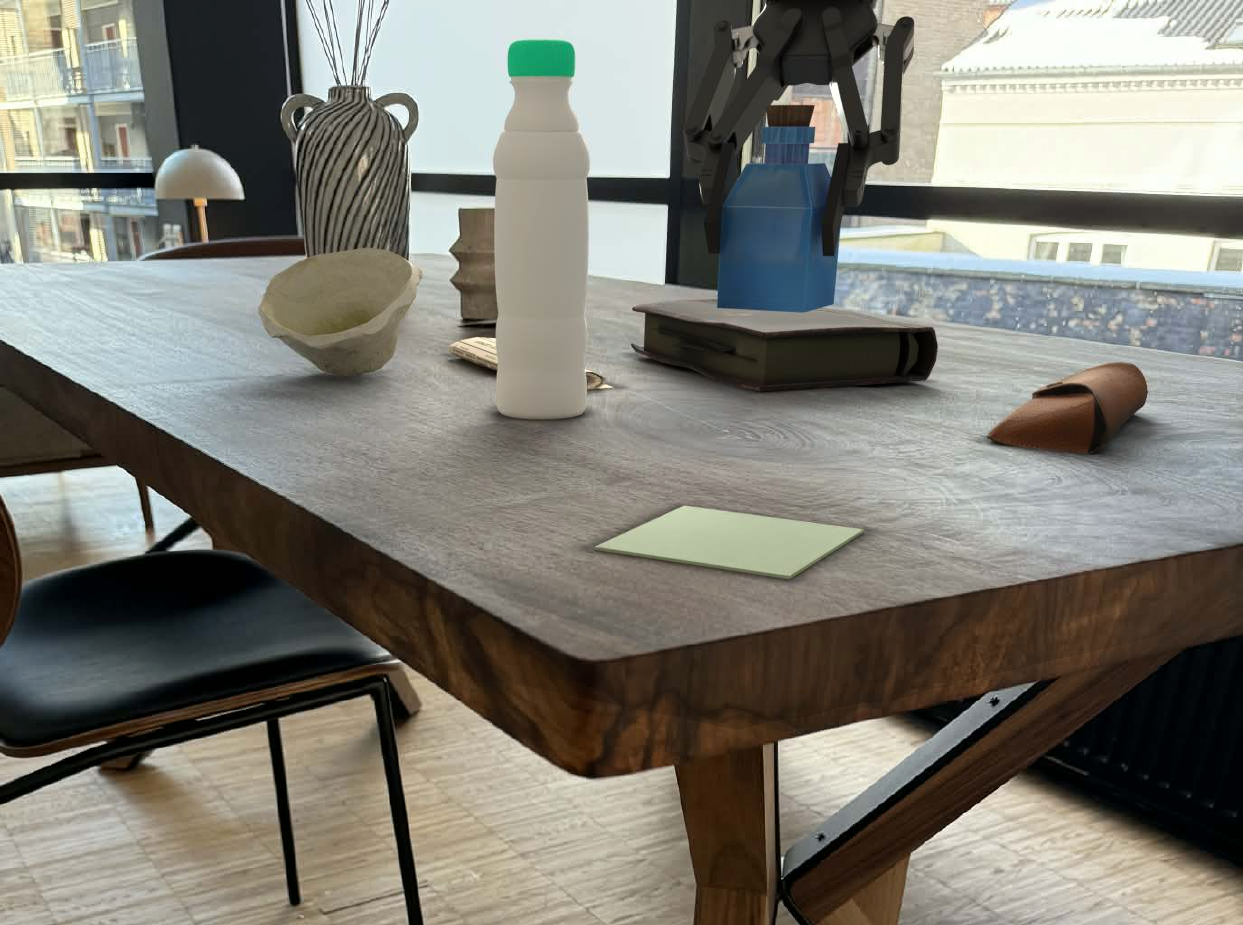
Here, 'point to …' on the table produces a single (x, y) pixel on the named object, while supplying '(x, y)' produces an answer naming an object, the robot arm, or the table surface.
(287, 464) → the table surface
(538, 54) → the water bottle
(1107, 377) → the sunglasses case
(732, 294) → the perfume bottle
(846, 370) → the diary
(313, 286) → the bowl
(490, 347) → the newspaper
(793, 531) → the mat
